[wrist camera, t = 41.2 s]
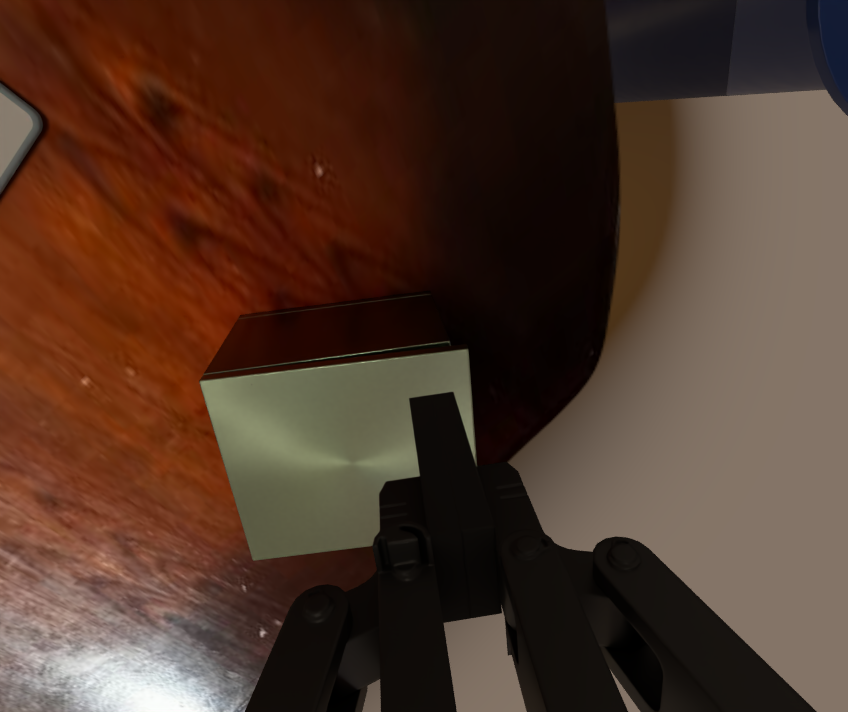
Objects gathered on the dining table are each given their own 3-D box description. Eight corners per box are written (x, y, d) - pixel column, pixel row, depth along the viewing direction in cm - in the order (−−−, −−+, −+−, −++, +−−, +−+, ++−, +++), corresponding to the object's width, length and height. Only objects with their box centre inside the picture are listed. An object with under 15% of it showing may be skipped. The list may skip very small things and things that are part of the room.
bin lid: (466, 343, 30) (468, 349, 29) (480, 524, 35) (482, 532, 34) (203, 374, 30) (198, 380, 29) (255, 551, 35) (252, 561, 34)
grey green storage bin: (430, 290, 39) (450, 340, 30) (445, 438, 44) (466, 519, 35) (239, 314, 39) (202, 374, 30) (277, 462, 44) (255, 551, 35)
